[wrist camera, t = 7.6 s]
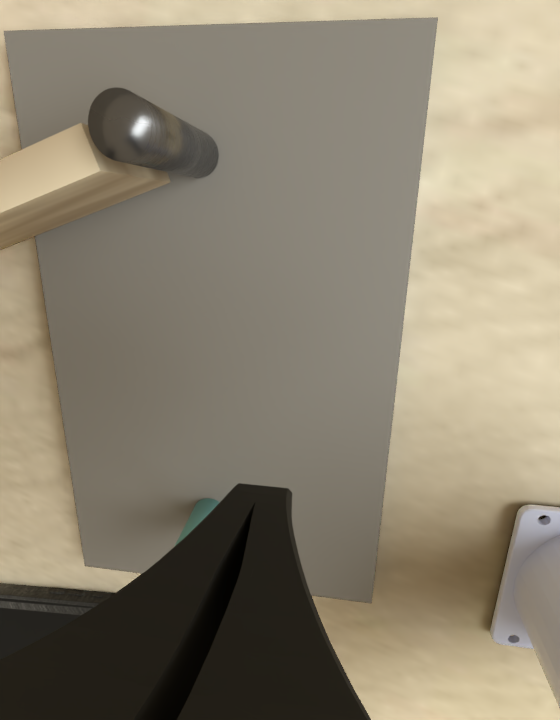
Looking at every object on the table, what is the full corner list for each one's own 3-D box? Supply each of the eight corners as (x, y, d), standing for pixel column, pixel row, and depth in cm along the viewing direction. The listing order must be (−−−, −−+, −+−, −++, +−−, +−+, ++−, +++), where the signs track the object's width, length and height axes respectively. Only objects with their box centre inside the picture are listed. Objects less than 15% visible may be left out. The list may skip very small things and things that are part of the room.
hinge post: (225, 134, 17) (148, 87, 10) (226, 180, 17) (153, 162, 11) (184, 134, 17) (84, 88, 11) (186, 179, 18) (91, 161, 11)
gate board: (432, 29, 15) (437, 17, 14) (370, 587, 23) (371, 603, 22) (22, 40, 17) (3, 30, 16) (94, 552, 25) (84, 566, 24)
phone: (150, 705, 27) (-67, 678, 29) (158, 686, 28) (-52, 662, 30) (131, 604, 24) (-105, 584, 27) (140, 588, 25) (-88, 569, 28)
